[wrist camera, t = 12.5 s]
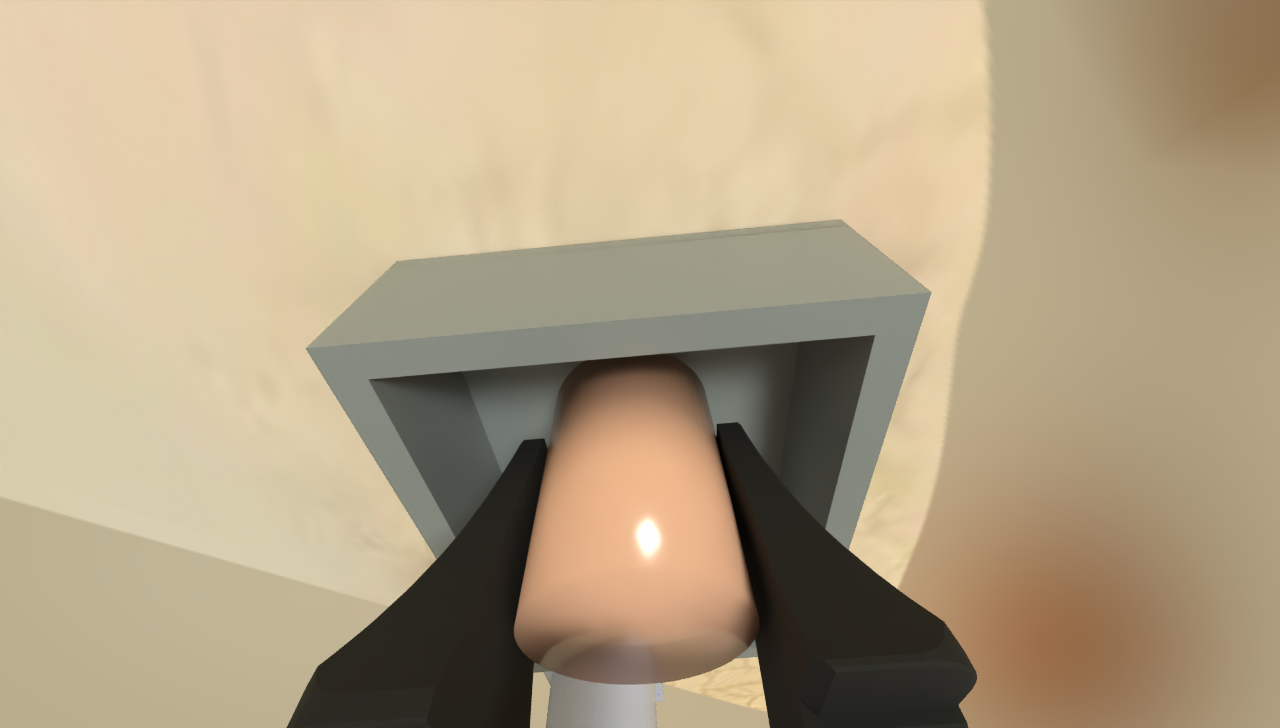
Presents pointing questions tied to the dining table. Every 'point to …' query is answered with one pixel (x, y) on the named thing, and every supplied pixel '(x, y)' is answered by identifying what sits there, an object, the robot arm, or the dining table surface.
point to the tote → (622, 327)
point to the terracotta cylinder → (634, 532)
